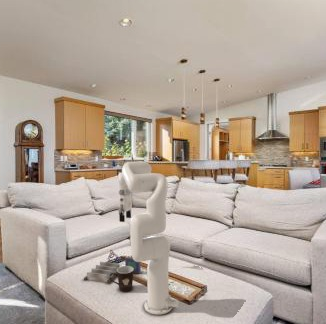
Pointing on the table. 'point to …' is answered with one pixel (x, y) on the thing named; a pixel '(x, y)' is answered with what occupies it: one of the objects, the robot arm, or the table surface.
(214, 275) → the table surface
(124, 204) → the robot arm
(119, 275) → the coffee mug
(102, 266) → the drying rack
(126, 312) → the table surface
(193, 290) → the table surface
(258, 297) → the table surface
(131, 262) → the flask
